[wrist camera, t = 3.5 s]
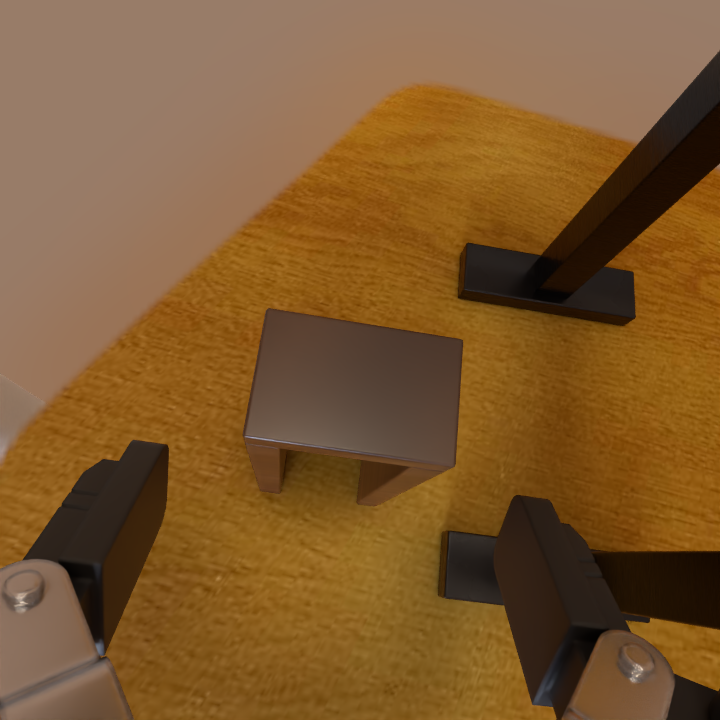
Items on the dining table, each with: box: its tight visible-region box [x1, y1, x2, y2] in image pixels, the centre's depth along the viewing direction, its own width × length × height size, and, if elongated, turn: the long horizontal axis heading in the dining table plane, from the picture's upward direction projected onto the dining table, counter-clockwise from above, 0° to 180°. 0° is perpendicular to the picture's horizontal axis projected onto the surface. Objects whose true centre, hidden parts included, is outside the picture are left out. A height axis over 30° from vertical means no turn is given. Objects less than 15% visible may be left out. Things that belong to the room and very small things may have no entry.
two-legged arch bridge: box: [243, 308, 463, 506], centre depth 18 cm, size 5×3×11 cm, turn 83°
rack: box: [438, 51, 720, 630], centre depth 18 cm, size 8×15×14 cm, turn 173°
